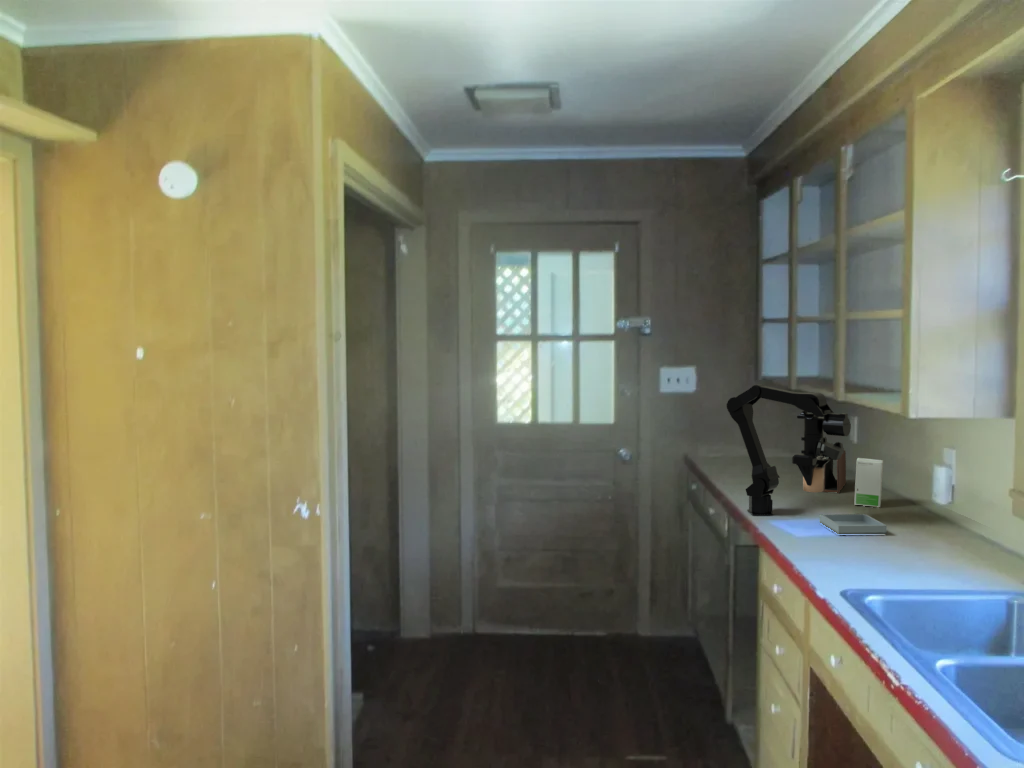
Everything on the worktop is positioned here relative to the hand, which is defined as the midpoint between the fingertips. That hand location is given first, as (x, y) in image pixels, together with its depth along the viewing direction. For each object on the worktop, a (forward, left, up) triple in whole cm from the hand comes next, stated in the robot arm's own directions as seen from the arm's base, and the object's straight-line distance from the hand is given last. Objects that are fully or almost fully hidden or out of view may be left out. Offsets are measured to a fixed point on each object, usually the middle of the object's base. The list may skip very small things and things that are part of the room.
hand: (813, 483), depth 243 cm
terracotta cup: (0, 0, -2) cm, 2 cm away
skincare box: (+28, +22, -13) cm, 38 cm away
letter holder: (+26, +52, -13) cm, 59 cm away
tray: (+9, -9, -12) cm, 17 cm away
